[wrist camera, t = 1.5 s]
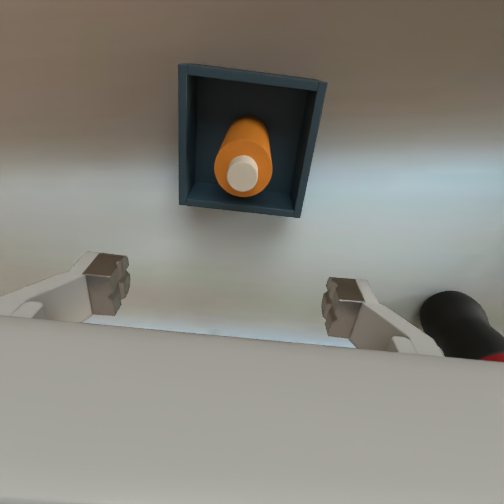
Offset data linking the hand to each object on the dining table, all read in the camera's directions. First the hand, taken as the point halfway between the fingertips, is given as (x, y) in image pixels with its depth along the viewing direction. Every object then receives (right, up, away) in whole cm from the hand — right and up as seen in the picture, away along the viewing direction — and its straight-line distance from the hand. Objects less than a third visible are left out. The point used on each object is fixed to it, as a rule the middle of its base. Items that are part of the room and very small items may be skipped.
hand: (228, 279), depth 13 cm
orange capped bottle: (0, +14, +25) cm, 29 cm away
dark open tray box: (0, +15, +25) cm, 29 cm away
